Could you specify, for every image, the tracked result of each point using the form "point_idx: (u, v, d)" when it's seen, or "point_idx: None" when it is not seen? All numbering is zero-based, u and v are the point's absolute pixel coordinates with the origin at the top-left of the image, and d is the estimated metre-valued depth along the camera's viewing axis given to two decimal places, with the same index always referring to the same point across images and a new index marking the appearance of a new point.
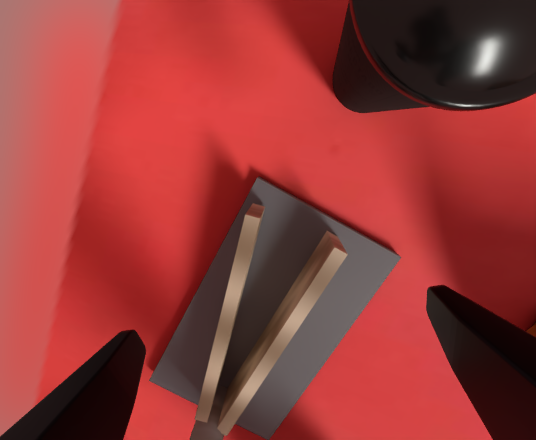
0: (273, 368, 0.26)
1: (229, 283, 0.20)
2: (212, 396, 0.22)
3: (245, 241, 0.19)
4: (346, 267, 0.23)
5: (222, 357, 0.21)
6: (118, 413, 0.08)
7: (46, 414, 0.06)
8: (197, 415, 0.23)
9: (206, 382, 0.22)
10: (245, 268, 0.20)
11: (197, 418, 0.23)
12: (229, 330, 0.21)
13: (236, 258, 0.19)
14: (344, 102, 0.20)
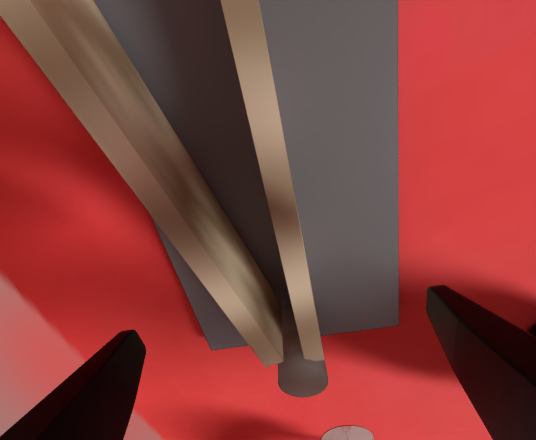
0: (332, 240, 0.16)
1: (105, 151, 0.10)
2: (258, 328, 0.13)
3: (38, 45, 0.08)
4: None
5: (217, 272, 0.12)
6: (118, 413, 0.08)
7: (46, 414, 0.06)
8: (264, 361, 0.15)
9: (232, 317, 0.13)
10: (96, 100, 0.09)
11: (267, 364, 0.15)
12: (185, 227, 0.11)
13: (65, 95, 0.09)
14: None
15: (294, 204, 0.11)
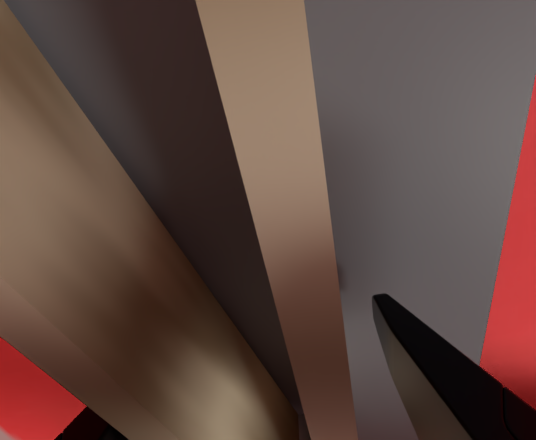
0: None
1: None
2: None
3: None
4: None
5: None
6: None
7: None
8: None
9: None
10: None
11: None
12: (125, 397, 0.05)
13: None
14: None
15: (345, 361, 0.05)
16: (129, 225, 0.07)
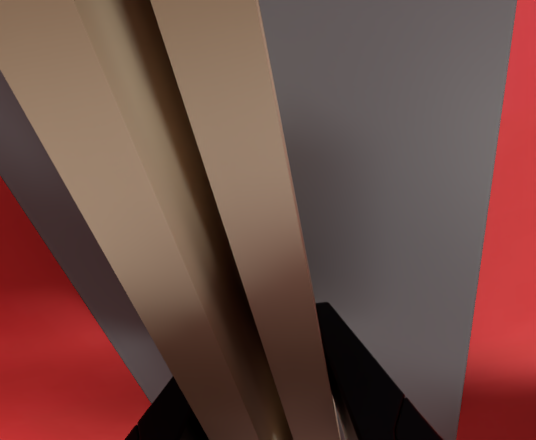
0: (367, 342, 0.11)
1: (82, 204, 0.04)
2: None
3: None
4: None
5: None
6: None
7: (179, 399, 0.06)
8: None
9: None
10: (88, 63, 0.03)
11: None
12: (227, 381, 0.05)
13: None
14: None
15: (323, 369, 0.05)
16: None
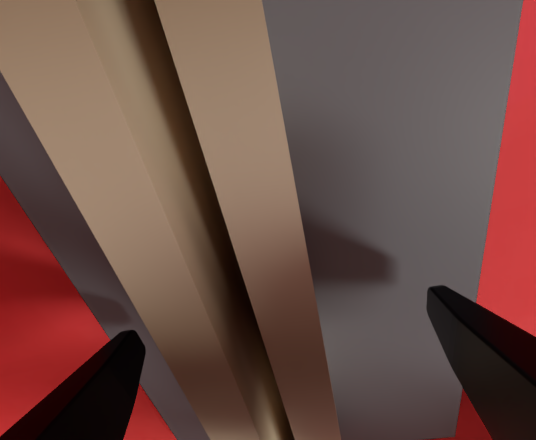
0: (367, 336, 0.11)
1: (71, 184, 0.03)
2: None
3: None
4: None
5: None
6: (118, 413, 0.08)
7: (46, 414, 0.06)
8: None
9: None
10: (74, 28, 0.03)
11: None
12: (224, 372, 0.05)
13: None
14: None
15: (324, 360, 0.05)
16: None
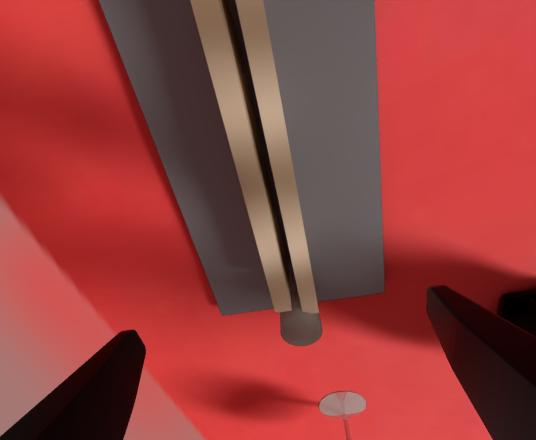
0: (326, 214, 0.19)
1: (219, 100, 0.12)
2: (281, 276, 0.16)
3: (202, 4, 0.11)
4: (306, 2, 0.14)
5: (268, 220, 0.15)
6: (118, 413, 0.08)
7: (46, 414, 0.06)
8: (276, 307, 0.17)
9: (265, 262, 0.16)
10: (229, 58, 0.11)
11: (278, 310, 0.17)
12: (257, 176, 0.14)
13: (206, 48, 0.11)
14: None
15: (293, 176, 0.14)
16: (253, 120, 0.15)
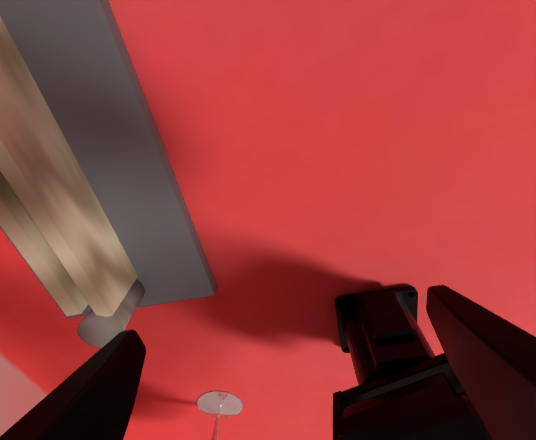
0: (132, 221, 0.20)
1: None
2: (56, 282, 0.17)
3: None
4: (43, 21, 0.15)
5: (19, 229, 0.15)
6: (118, 413, 0.08)
7: (46, 414, 0.06)
8: (64, 310, 0.18)
9: (35, 268, 0.17)
10: None
11: (67, 313, 0.18)
12: None
13: None
14: None
15: (30, 187, 0.15)
16: None
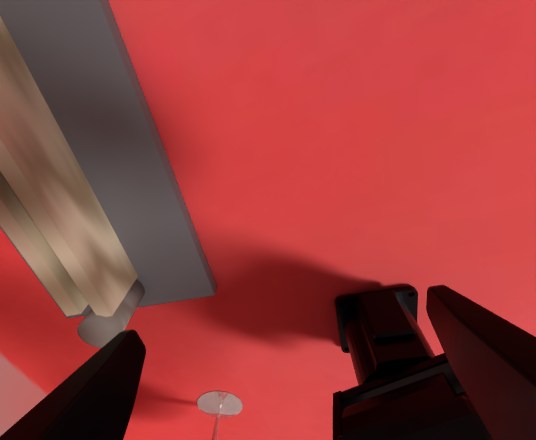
0: (132, 221, 0.20)
1: None
2: (56, 282, 0.17)
3: None
4: (43, 21, 0.15)
5: (19, 229, 0.15)
6: (118, 413, 0.08)
7: (46, 414, 0.06)
8: (64, 310, 0.18)
9: (35, 268, 0.17)
10: None
11: (67, 313, 0.18)
12: None
13: None
14: None
15: (30, 187, 0.15)
16: None
